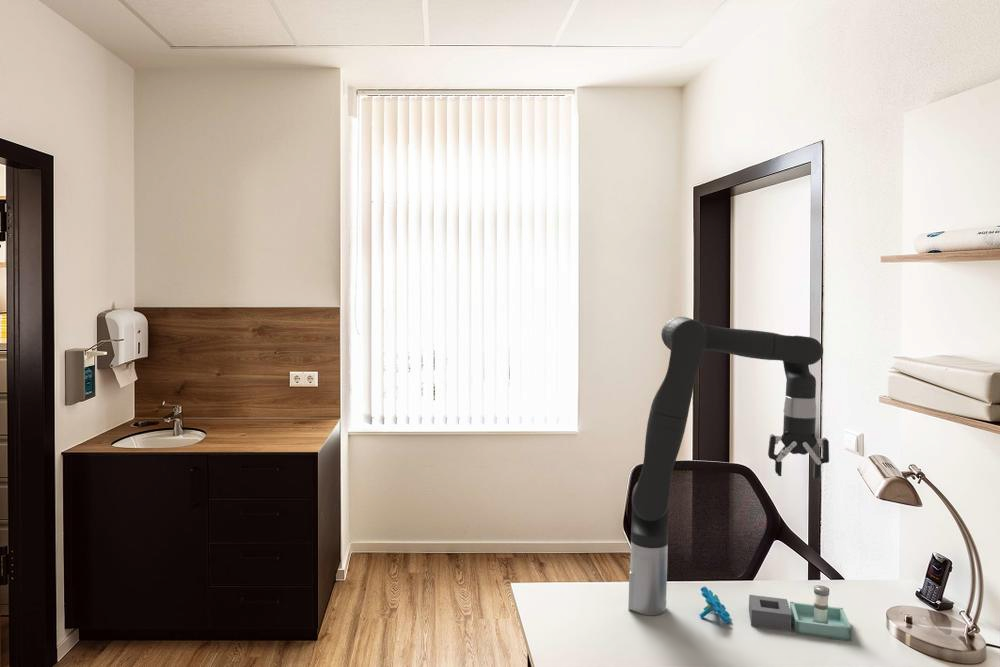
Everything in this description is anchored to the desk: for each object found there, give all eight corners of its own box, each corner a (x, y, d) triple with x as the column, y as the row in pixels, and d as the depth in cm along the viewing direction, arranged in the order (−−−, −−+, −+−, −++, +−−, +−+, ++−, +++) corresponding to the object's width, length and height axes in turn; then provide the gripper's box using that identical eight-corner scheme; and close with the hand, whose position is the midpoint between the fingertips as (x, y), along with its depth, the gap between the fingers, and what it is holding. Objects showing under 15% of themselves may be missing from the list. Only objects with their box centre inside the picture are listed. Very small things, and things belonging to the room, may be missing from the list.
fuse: (813, 626, 172) (815, 590, 172) (811, 620, 176) (813, 584, 175) (828, 628, 171) (830, 592, 171) (826, 622, 175) (828, 586, 174)
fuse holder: (751, 625, 174) (751, 609, 173) (748, 609, 182) (749, 594, 182) (790, 630, 171) (791, 614, 171) (786, 614, 180) (786, 599, 180)
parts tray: (795, 633, 170) (795, 621, 170) (789, 613, 181) (790, 601, 180) (851, 641, 167) (851, 628, 166) (842, 619, 177) (842, 608, 177)
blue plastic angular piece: (732, 625, 170) (703, 590, 173) (713, 639, 172) (684, 605, 174) (734, 612, 181) (706, 579, 184) (716, 626, 182) (689, 593, 185)
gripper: (771, 415, 180) (769, 478, 181) (832, 418, 176) (830, 483, 177) (768, 410, 187) (766, 471, 188) (827, 413, 183) (824, 475, 184)
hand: (797, 476), depth 182 cm, fingers open, 8 cm apart
